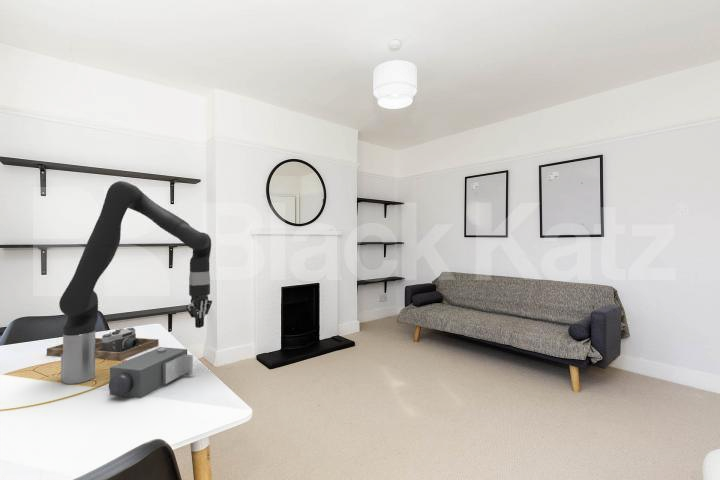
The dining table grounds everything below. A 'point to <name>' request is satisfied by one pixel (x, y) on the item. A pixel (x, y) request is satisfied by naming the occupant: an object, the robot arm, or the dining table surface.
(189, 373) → the battery door
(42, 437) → the dining table surface
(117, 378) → the camera housing
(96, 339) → the charger corral
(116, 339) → the camera
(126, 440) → the dining table surface
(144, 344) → the camera corral
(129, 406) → the dining table surface
